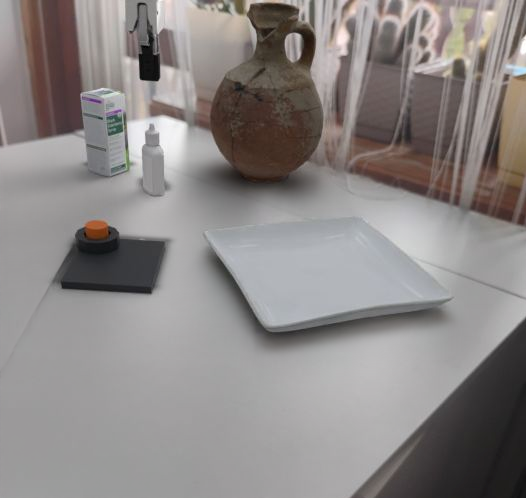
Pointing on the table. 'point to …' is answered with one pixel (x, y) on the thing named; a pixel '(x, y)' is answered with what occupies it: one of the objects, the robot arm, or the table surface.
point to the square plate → (322, 272)
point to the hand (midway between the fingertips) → (150, 79)
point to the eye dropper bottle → (153, 163)
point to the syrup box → (105, 131)
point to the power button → (96, 229)
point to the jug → (269, 100)
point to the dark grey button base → (113, 264)
